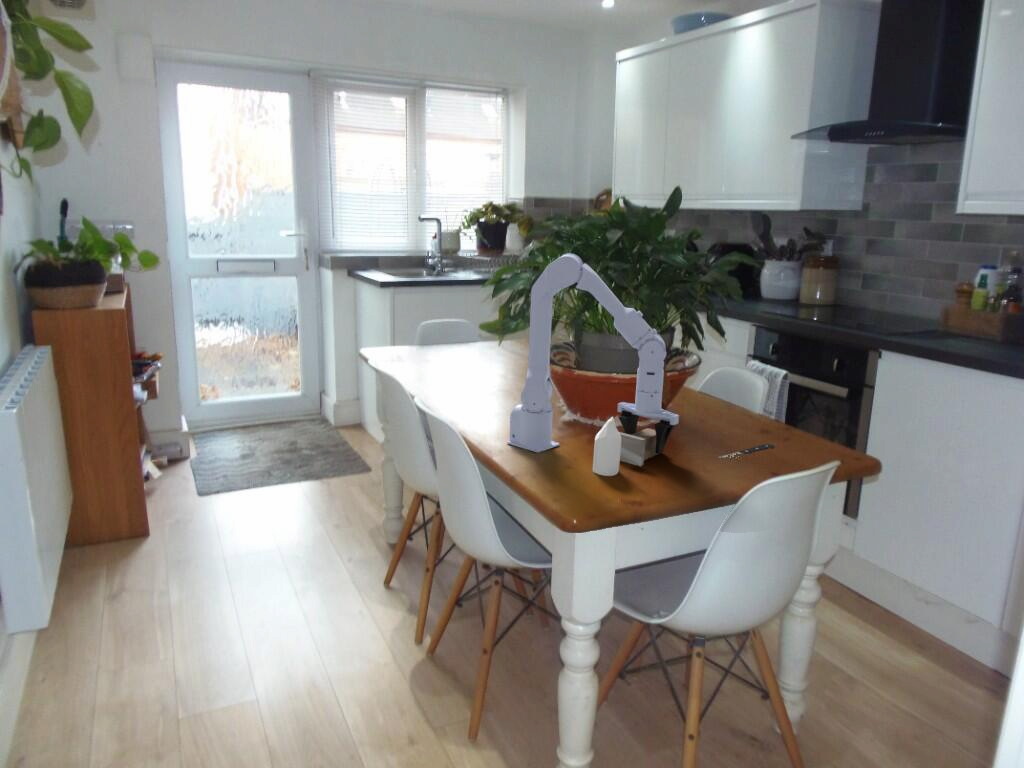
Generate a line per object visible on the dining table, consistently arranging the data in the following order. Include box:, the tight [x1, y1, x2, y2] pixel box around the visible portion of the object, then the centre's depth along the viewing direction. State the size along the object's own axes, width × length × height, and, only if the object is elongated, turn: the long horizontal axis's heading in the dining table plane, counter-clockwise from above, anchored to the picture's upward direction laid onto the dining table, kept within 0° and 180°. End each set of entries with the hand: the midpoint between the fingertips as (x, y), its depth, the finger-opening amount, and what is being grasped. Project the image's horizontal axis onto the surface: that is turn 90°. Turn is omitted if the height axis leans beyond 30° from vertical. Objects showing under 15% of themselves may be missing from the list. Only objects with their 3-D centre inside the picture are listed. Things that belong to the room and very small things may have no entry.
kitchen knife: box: [719, 443, 775, 459], centre depth 166 cm, size 29×1×10 cm
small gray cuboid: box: [618, 427, 659, 467], centre depth 166 cm, size 11×7×6 cm, turn 138°
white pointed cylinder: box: [592, 416, 621, 477], centre depth 155 cm, size 6×12×6 cm
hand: (644, 448), depth 167 cm, fingers open, 7 cm apart
